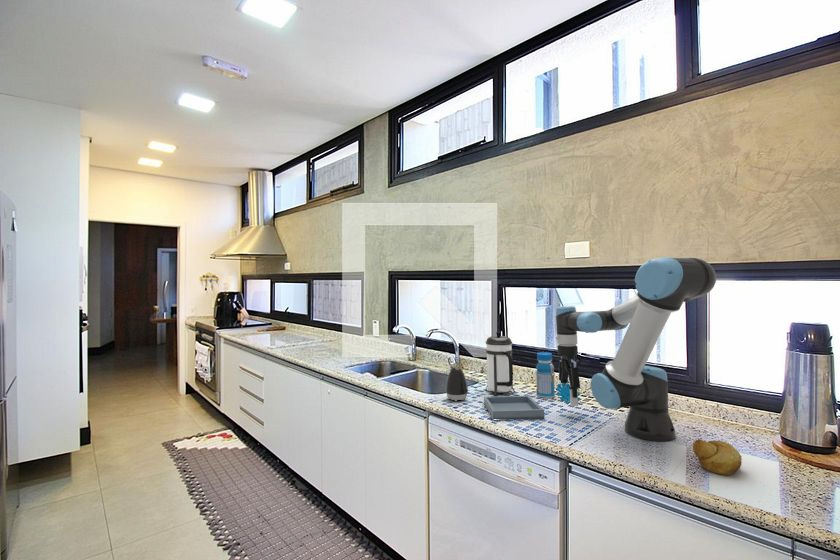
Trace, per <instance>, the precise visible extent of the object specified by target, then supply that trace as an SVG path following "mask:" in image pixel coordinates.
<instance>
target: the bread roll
mask: <svg viewBox="0 0 840 560" xmlns="http://www.w3.org/2000/svg"><path fill="white" fill-rule="evenodd" d="M692 451H693V453H694V456H695V457H697V459H698V463H699V464H700V465H701V467H702V468H704V470H706V471H709V472H710V473H714V474H719V475H723V476H729V475H733V474H734V473H736V472H737V471H738V470H739V469H740V468H741V466H742V455H741V453H740V452H739V450H738V449H736V448H735V446H733V444H731V443H729V442H726V441H722V440H709V441H705V440H703V439H696V440H694V441H693V444H692Z"/></svg>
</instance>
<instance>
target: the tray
mask: <svg viewBox="0 0 840 560" xmlns="http://www.w3.org/2000/svg"><path fill="white" fill-rule="evenodd" d="M483 405H485V406H484V407H485V409H486V408H487V409H486V411H487V410H488V411H487V413H488V414H489V413H490V414H489V416H490V415H491V416H490V417H492V418H493V419H527V420H544V419H545V409H544V408H543V407H542V406H541V405H540V404H539V403H538V402H536V401H535V400H534V399H533V398H532V397H531V395H508V396H507V395H504V396H503V395H501V396H498V395H497V396H484V397H483ZM492 418H491V419H492ZM493 419H492V420H493Z"/></svg>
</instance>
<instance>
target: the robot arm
mask: <svg viewBox="0 0 840 560" xmlns="http://www.w3.org/2000/svg"><path fill="white" fill-rule="evenodd" d="M716 282H717V275H716V271H715V269H714V268H713V266H712V265H711V264H710V263H709V262H707V261H706V260H703V259H701V258H697V257H683V258H682V257H667V256H665V257H660V258H659V257H658V258H657V257H656V258H652V259H650V260H647V261H645V262H643V264H641V265H640V267H639V268H638V270H637V271H636V274H635V277H634V283H635V289H636V291H637V292H636V296H634V297H632V298H629V299H628V300H626V301H623V302H621V303H619V304H618V305H616V306H614V307H613V308H612V307H611V308H610V309H607V310H596V311H592V310H591V311H577V308H576V306H573V305H562V306H561V305H560V306H557V307H556V308H555V322H556V325H555V326H556V337H555V338H556V341H557V342H556V343H557V346H556V347H557V354H558V355H559V356H558V380H559V381H560V384H562V383H565V387H567V385H568V384H569V385H570V386H571V387H570V388H569V389H570V401H569V404H570V405H569V406H570V407H578V406H579V404H578V402H579V401H578V397H579V396H578V392H579V391H578V390H579V389H581V383H580V374H579V363H578V361H575V356H577V355H578V354H579V353H578V332H581V333H586V334H590V333H592V334H593V333H597V332H602V331H603V332H604V331H620V330H624V329H626V328H627V329H626V332H625V334H624V335H623V338H622V341H621V343H620V345H619V346H618V350H617V351H616V354H615V356H614V359H613V360H609V361H607V362H606V364H605V366H604V368H603V370H602V372H598V373H594V375H593V376H592V377H591V380H590V390H591V393H592V396H593V398H594V399H595V401H596V402H597V404H599V406H601V407H603V408H605V409H607V410H613V409H615V410H618V409H623V408H628V407H629V410H628V412H627V416H626V419H625V422H624V431H625V432H626V433H627V434H629V435H630V436H632V437H635V438H637V439H643V440H646V441H652V442H653V441H654V442H668V441H673V440H674V439H675V438H676V429H675V426H674V423H673V422H672V419H671V416H670V412H669V385H668V384H669V380H668V373H667V372H666V370H665V369H663V368H659V367H656V366H651V365H646V364H647V362H648V361H649V358H650V356H651V354H652V351H653V350H654V348H655V346H656V344H657V342H658V340H659V338H660V336H661V333H662V332H663V330H664V329H665V328H664V327H665V326H666V324H667V322H668V320H669V318H670V316H671V313H675V312H678V311H680V310H681V308H682V305H683V303H689V302H691V301H693V300H696V299H699V298H701V297H704V296H706V295H707V294H708V293H710V292H711V291H712V290H713V288H714V287H715V285H716ZM561 387H562V385H561ZM562 388H563V387H562Z"/></svg>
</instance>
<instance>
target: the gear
mask: <svg viewBox="0 0 840 560" xmlns="http://www.w3.org/2000/svg"><path fill="white" fill-rule="evenodd" d="M561 385H562V386H561ZM562 387H563V388H562ZM570 387H571V386H570V383H568V385H567V387H565V383H559V384H557V387H555V392H556V391H557V392H556V395H557V396H558V397H560V398H559V400H560V402H561V403H562V402H564V401H565V402H564V403H565V405H569V404H570V389H569V388H570ZM581 394H582V393H581V392H580V391H578V405H579V404H580V403H579V402H580V400H581V398H580V397H579V396H580V395H581Z"/></svg>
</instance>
